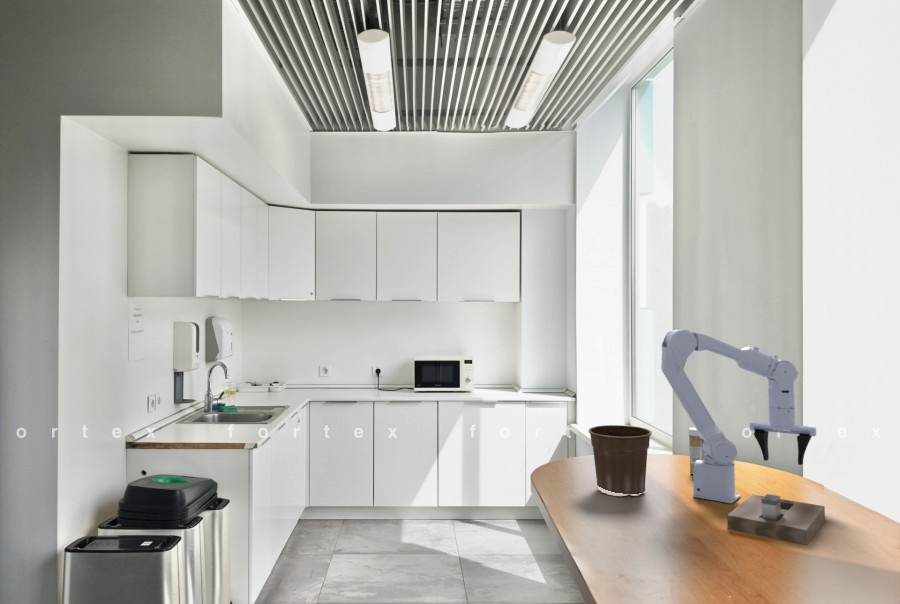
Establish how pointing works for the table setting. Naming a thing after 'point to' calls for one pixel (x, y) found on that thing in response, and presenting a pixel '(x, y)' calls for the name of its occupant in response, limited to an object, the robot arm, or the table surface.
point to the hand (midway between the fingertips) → (783, 461)
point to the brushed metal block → (771, 507)
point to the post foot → (792, 527)
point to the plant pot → (620, 457)
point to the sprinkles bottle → (695, 448)
